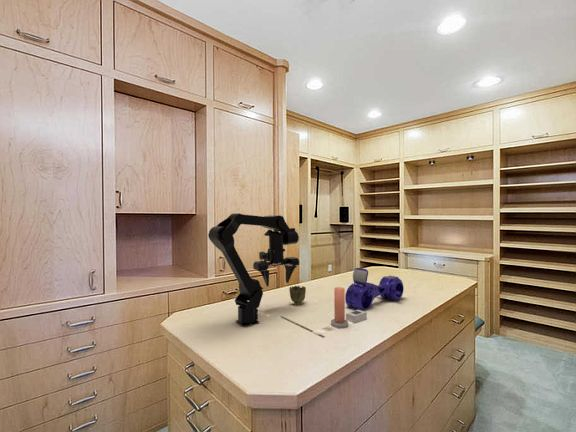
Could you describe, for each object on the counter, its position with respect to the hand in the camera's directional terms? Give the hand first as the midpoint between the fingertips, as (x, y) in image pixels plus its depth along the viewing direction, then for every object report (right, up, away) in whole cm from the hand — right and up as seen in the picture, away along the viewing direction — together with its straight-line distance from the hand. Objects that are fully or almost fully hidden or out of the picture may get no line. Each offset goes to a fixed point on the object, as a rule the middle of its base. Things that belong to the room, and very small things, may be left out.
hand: (277, 284), depth 117 cm
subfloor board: (+19, -12, -8) cm, 24 cm away
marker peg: (+23, -11, -15) cm, 29 cm away
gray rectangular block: (+30, -11, -9) cm, 33 cm away
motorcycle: (+44, -12, +13) cm, 47 cm away
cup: (+9, -12, +11) cm, 18 cm away
